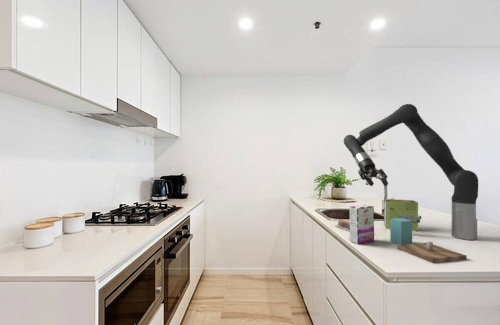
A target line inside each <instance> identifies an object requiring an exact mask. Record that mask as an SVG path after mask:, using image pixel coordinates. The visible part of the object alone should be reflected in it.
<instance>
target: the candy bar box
mask: <svg viewBox="0 0 500 325" xmlns="http://www.w3.org/2000/svg"><path fill="white" fill-rule="evenodd" d="M374 208H375V207H374V205H370V204H359V205H352V206H351V205H350V206H349V220H350V232H349V242H350V243H353V244H357V245H363V244H367V243H372V242H374V241H375V210H374Z"/></svg>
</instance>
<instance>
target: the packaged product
mask: <svg viewBox="0 0 500 325" xmlns="http://www.w3.org/2000/svg"><path fill="white" fill-rule="evenodd" d="M337 222H338V223H337V224H335V228H336V227H337V229H339V228H340V229H339V230H343V231H344V230H345V232H347V231H348V233H350V219H346V218H345V219H344V218H343V219H338V220H337Z"/></svg>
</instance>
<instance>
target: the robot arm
mask: <svg viewBox="0 0 500 325" xmlns="http://www.w3.org/2000/svg"><path fill="white" fill-rule="evenodd" d="M401 124H403V125H405V126H406V127H407V128H408V129H409V130H410V131H411V133H412V134H413V136H414V138H415V139H416V140H417V142H418V144H419V145H420V146H421V147H422V149H423V150H424V151H425V153H426V154H427V155H428V156H429V157H430V158H431V159H432V160H433V161H434V163H435V164H436V165H438V166H439V168H440V169H441V170H442V172H443V173H444V175H445V176H446V177H447V179H448V181H449V182H450V184H451V185H452V186H453V194H452V196H451V237H453V238H456V239H460V240H465V241H466V240H467V241H474V240H477V239H478V219H477V199H478V196H479V177H478V176H477V174H476V173H475V172H474V171H472V170H466V169H464V168H463V166H462V165H460V163H458V161H457V160H456V159H455V157H454V155H453V153H452V150H451V149H450V147H449V145H448V144H447V143H446V141H445V140H444V139H443V138H442V137H441V136H440V135H439V133H437V131H435V130H434V129H433V128H432V127H431V126H429V125H428V124H427V123H426V122H425V121H424V119H423V118H422V117H421V116H420V114H419V111H418V108H417V106H416V105H414V104H412V103H405V104H402V105H401V106H400V107H398V108H397V109H396V110H395V111H393V113H391V114H389V115H388V116H386V117H384V118H383V119H381V120H379V121H377V122H375V123H373V124H371V125H369V126H367V127H365V128H364V129H362V130H360V131H359V136H358V137H356V136H355V135H353V134H347V135H345V137H344V138H343V145H344V146H345V147H346V148H347V150H348V151H349V152H350V154H351V156H352V157H353V159H354V160H355V163H356V165H357V166H358V168H359V169H358V171H357V173H358V175H359V177H360V178H361V180H362V181H363V180H365V181H366V182H367V184H368V185H369V186H370V187H373V186H374V184H375V183H374V182H373V180H372V178H375V179H377V180H380V182H381V183H382V185H383V186H384V187H387V186H388V185H389V182H388V181H387V178H388V175H387V173H385V171H384V169H383V168H380V169H377V168H376V164H375V163H374V161H373V159H372V158H371V157H370V155H369V154H368V153H367V152H366V150H365V149H364V147H363V146H364V145H366V143H367V142H368V141H371V140H373V139H375V138H377V137H378V136H380V135H381V134H383V133H385V132H386V131H387V130H389V129H392V128H393V127H396V126H397V125H401Z"/></svg>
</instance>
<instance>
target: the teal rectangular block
mask: <svg viewBox="0 0 500 325" xmlns="http://www.w3.org/2000/svg"><path fill="white" fill-rule="evenodd" d="M389 230H390V232H389V233H390V237H389V238H390V239H389V240H390V242H391V243H393V244H396V245H405V244H413V231H412V221H411V220H407V219H403V218H394V219H391V223H390V229H389Z"/></svg>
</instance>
